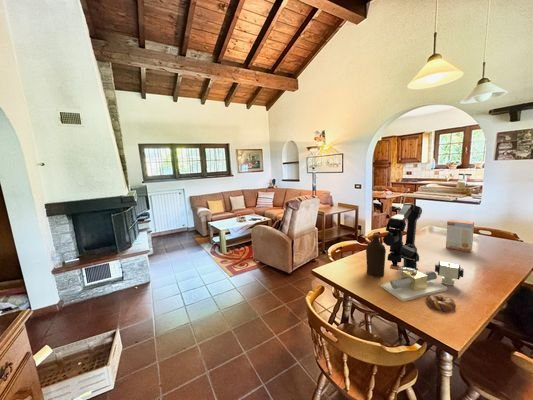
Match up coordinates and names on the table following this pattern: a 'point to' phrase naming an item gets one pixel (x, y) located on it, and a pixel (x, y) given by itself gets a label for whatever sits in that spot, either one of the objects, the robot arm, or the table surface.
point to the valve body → (413, 280)
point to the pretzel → (441, 302)
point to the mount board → (409, 294)
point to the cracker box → (459, 235)
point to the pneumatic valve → (449, 272)
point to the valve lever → (402, 268)
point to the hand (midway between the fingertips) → (395, 267)
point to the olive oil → (375, 257)
